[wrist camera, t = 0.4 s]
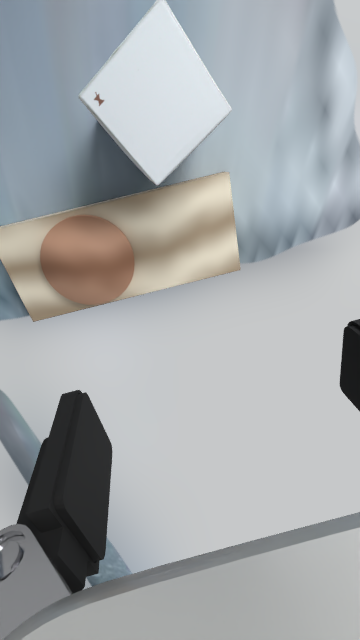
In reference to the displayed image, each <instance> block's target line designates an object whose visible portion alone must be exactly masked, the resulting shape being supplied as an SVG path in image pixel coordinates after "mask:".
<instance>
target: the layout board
mask: <svg viewBox="0 0 360 640" xmlns="http://www.w3.org/2000/svg"><path fill="white" fill-rule="evenodd" d="M0 259H1V261H2V263H3V265H4V267H5V268H6V270H7V272H8V274H9V276H10V278H11V280H12V282H13V284H14V286H15V288H16V290H17V292H18V293H19V295H20V297H21V299H22V301H23V303H24V305H25V307H26V309H27V311H28V313H29V315H30V316H31V318H32V320H33V322H35V321H38V320H42V319H46V318H50V317H54V316H58V315H62V314H66V313H70V312H74V311H78V310H82V309H86V308H90V307H94V306H98V305H102V304H106V303H110V302H114V301H118V300H122V299H126V298H130V297H134V296H138V295H142V294H146V293H150V292H154V291H158V290H162V289H166V288H170V287H174V286H178V285H182V284H186V283H190V282H194V281H198V280H202V279H206V278H210V277H214V276H218V275H222V274H226V273H230V272H234V271H237V270H240V262H239V253H238V245H237V236H236V227H235V219H234V210H233V202H232V193H231V185H230V176H229V172H221V173H217V174H213V175H209V176H205V177H201V178H196V179H192V180H188V181H184V182H180V183H176V184H172V185H168V186H164V187H160V188H156V189H151V190H147V191H143V192H139V193H135V194H131V195H127V196H123V197H119V198H115V199H110V200H106V201H102V202H98V203H94V204H90V205H86V206H82V207H78V208H74V209H70V210H65V211H61V212H57V213H53V214H49V215H45V216H41V217H37V218H33V219H29V220H24V221H20V222H16V223H12V224H8V225H4V226H0Z"/></svg>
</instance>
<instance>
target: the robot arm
mask: <svg viewBox="0 0 360 640" xmlns="http://www.w3.org/2000/svg"><path fill="white" fill-rule="evenodd" d="M343 336H344V337H343V348H342V362H341V374H340V387H341V390H342V392H343V393H344V394H345V395H346V396H347V398H348V399H349V400H350V401H351V402H352V403H353V404H354V405H355V407H356V408H357V409H358V410H359V411H360V319H358V320H355V321H351V322H349V323H348V326H347V327H345V328H344V335H343ZM111 464H112V445H111V442H110V440H109V438H108V436H107V434H106V432H105V430H104V428H103V425H102V423H101V421H100V419H99V417H98V415H97V413H96V411H95V409H94V407H93V405H92V403H91V401H90V398H89V396H88V395H87V393H82V392H81V391H80V390H76V391H73V392H69V393H65V394H62V396H61V398H60V401H59V405H58V408H57V411H56V415H55V418H54V421H53V425H52V428H51V431H50V435H49V437H48V438H46V439H45V440H44V441H43V443H42V445H41V449H40V452H39V455H38V458H37V461H36V464H35V467H34V471H33V474H32V477H31V480H30V483H29V486H28V489H27V493H26V496H25V499H24V502H23V505H22V508H21V511H20V514H19V518H18V521H17V524H16V525H11V526H8V527H6V528H4V529H2V530H1V531H0V640H360V512H359V513H355V514H351V515H347V516H344V517H340V518H336V519H332V520H329V521H325V522H321V523H318V524H314V525H310V526H306V527H303V528H298V529H295V530H291V531H287V532H283V533H280V534H276V535H272V536H268V537H265V538H261V539H257V540H254V541H250V542H246V543H242V544H239V545H235V546H231V547H227V548H224V549H220V550H217V551H213V552H209V553H205V554H202V555H198V556H194V557H191V558H187V559H184V560H180V561H177V562H172V563H169V564H165V565H161V566H158V567H155V568H151V569H148V570H144V571H141V572H138V573H134V574H131V575H127V576H124V577H120V578H117V579H114V580H110V581H107V582H104V583H101V584H98V585H95V586H93V587H90V588H87V589H84V590H82V589H83V588H84V587H85V579H86V577H87V576H90V575H94V574H98V571H99V560H102V559H104V556H105V549H106V535H107V521H108V507H109V492H110V478H111Z"/></svg>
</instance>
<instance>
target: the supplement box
mask: <svg viewBox="0 0 360 640" xmlns="http://www.w3.org/2000/svg"><path fill="white" fill-rule="evenodd" d="M79 99H80V100H81V101H82V102H83V104H84V105H85V106H86V107H87V109H88V110H89V111H90V112H91V113H92V115H93V116H94V117H95V118H96V120H97V121H98V122H99V123H100V124H101V126H102V127H103V128H104V129H105V130H106V131H107V133H108V134H109V135H110V136H111V137H112V139H113V140H114V141H115V142H116V143H117V144H118V146H119V147H120V148H121V149H122V150H123V152H124V153H125V154H126V155H127V156H128V157H129V158H130V159H131V161H132V162H133V163H134V164H135V165H136V166H137V167H138V168H139V169H140V170H141V171H142V172H143V174H144V175H145V176H146V177H147V178H149V179H150V180H151V181H152V182H153V183H154V184H155V185H159V184H160V183H161V182H163V181H164V180H165V179H166V178H167V177H168V176H169V175H170V174H171V173H172V172H173V171H174V170H175V169H176V168H177V167H178V166H179V165H180V164H181V163H182V162H183V161H184V160H185V159H186V158H187V157H188V156H189V155H190V154H191V153H192V152H193V151H194V150H195V149H196V148H197V147H198V145H199V144H200V143H201V142H202V141H203V140H204V139H205V138H206V137H207V136H208V135H209V134H210V133H211V132H212V131H213V130H214V129H215V128H216V127H217V126H218V125H219V124H220V123H221V122H222V121H223V119H224V118H225V117H226V116H227V115H228V114H229V113H230V112H231V111H232V108H231V107H230V105H229V104H228V102H227V101H226V99H225V98H224V96H223V94H222V93H221V91H220V90H219V88H218V87H217V85H216V83H215V82H214V80H213V79H212V77H211V75H210V74H209V72H208V70H207V69H206V67H205V65H204V64H203V62H202V60H201V59H200V57H199V55H198V54H197V52H196V50H195V49H194V47H193V46H192V44H191V42H190V41H189V39H188V37H187V36H186V34H185V32H184V31H183V29H182V27H181V26H180V24H179V22H178V21H177V19H176V17H175V16H174V14H173V12H172V11H171V9H170V7H169V6H168V4H167V2H166V1H165V0H157V1H156V2H155V3H154V5H153V6H152V7H151V8H150V9H149V11H148V12H147V13H146V14H145V16H144V17H143V18H142V19H141V20H140V22H139V23H138V24H137V25H136V26H135V28H134V29H133V30H132V31H131V33H130V34H129V35H128V36H127V37H126V39H125V40H124V41H123V42H122V43H121V44H120V45H119V47H118V48H117V49H116V50H115V51H114V52H113V54H112V55H111V57H110V58H109V59H108V60H107V62H106V63H105V64H104V65H103V66H102V68H101V69H100V70H99V71H98V72H97V74H96V75H95V76H94V77H93V78H92V80H91V81H90V82H89V83H88V84H87V86H86V87H85V88H84V89H83V90H82V91H81V93H80V94H79Z"/></svg>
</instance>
